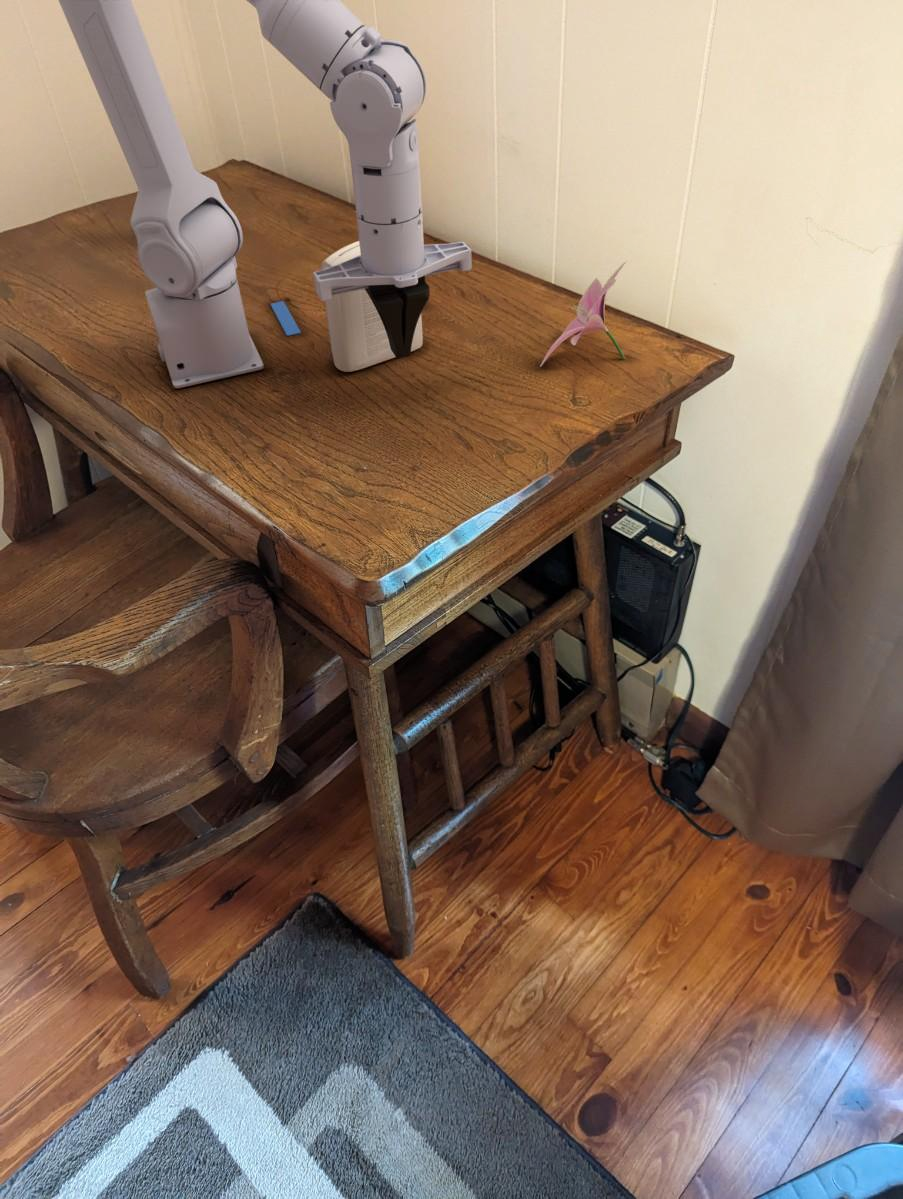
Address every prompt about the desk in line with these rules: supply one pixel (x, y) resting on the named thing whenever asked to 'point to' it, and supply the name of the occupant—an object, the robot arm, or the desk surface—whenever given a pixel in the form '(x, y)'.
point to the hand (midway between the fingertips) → (400, 352)
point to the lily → (589, 314)
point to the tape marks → (285, 318)
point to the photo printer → (358, 324)
